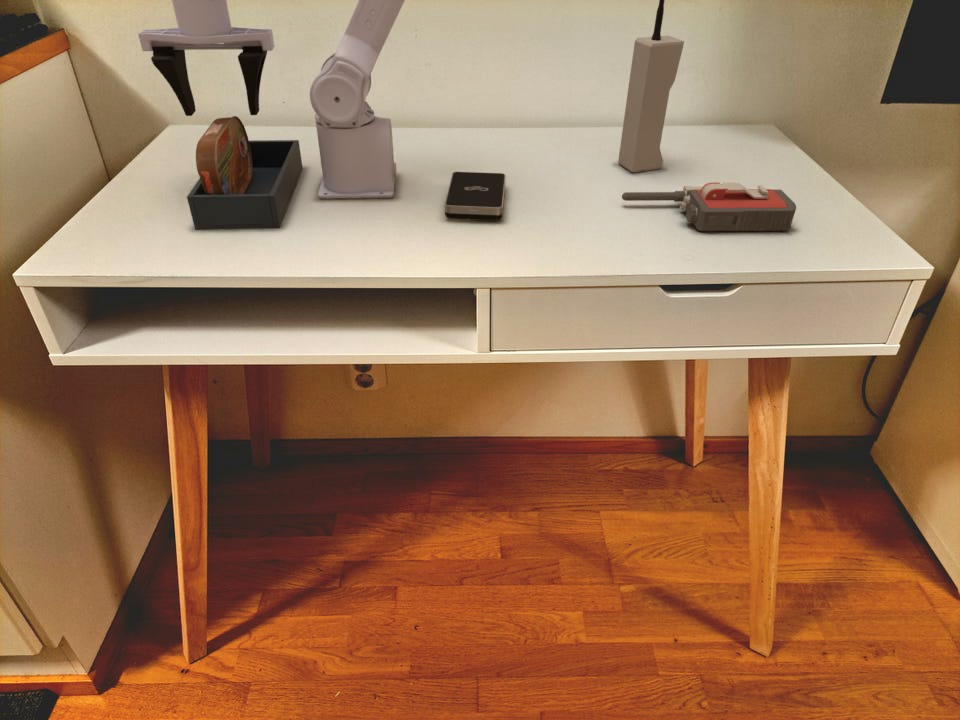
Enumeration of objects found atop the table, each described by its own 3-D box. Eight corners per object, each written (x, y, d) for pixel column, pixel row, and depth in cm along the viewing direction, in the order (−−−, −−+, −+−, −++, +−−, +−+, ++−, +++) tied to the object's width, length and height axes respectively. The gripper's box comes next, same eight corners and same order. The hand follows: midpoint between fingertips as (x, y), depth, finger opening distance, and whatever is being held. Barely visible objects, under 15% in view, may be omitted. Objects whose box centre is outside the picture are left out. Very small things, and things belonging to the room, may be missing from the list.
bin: (302, 168, 94) (298, 139, 92) (279, 228, 79) (274, 195, 77) (231, 169, 94) (225, 140, 91) (195, 229, 79) (186, 196, 76)
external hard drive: (505, 187, 90) (505, 173, 89) (502, 224, 81) (502, 208, 80) (452, 186, 90) (452, 171, 89) (444, 221, 81) (443, 206, 80)
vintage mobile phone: (661, 169, 96) (698, -35, 81) (631, 173, 94) (662, -33, 80) (647, 160, 99) (679, -38, 84) (617, 164, 97) (645, -37, 82)
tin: (231, 218, 80) (216, 148, 75) (204, 219, 80) (186, 148, 75) (257, 171, 92) (245, 107, 87) (233, 171, 92) (220, 107, 87)
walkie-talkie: (773, 202, 87) (618, 203, 86) (782, 168, 84) (623, 169, 84) (801, 232, 80) (633, 233, 79) (813, 197, 77) (639, 198, 77)
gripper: (269, -18, 79) (288, 102, 87) (140, -18, 78) (171, 104, 86) (258, -8, 73) (279, 120, 81) (119, -8, 72) (154, 121, 80)
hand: (223, 113), depth 83 cm, fingers open, 7 cm apart
